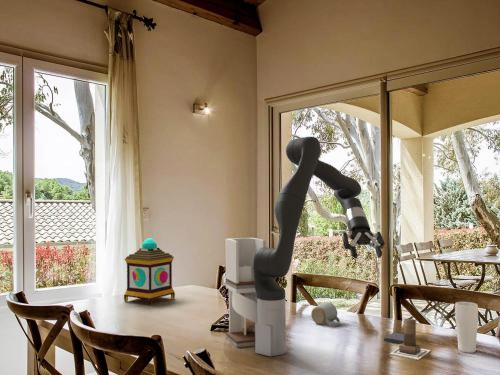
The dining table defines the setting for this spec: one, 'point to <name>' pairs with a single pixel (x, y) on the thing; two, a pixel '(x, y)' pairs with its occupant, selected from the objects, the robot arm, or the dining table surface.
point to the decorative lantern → (149, 273)
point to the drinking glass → (466, 325)
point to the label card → (416, 357)
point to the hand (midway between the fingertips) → (368, 256)
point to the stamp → (410, 338)
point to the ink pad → (395, 338)
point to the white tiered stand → (241, 289)
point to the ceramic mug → (325, 314)
